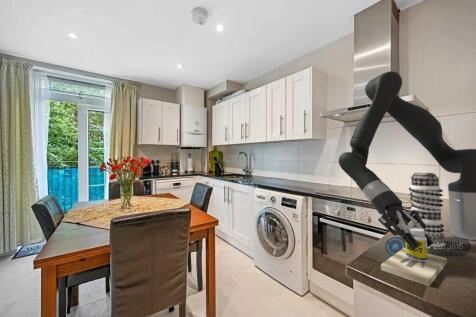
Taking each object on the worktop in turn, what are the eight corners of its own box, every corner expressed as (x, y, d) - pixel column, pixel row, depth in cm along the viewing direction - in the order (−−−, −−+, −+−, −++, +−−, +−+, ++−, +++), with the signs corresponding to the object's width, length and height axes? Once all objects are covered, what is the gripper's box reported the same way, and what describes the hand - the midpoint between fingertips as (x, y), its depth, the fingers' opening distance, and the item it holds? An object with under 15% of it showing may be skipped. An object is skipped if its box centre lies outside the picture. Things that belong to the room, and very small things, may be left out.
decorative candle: (440, 249, 69) (435, 173, 70) (407, 240, 78) (403, 173, 78) (451, 243, 74) (446, 172, 75) (418, 236, 82) (414, 172, 83)
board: (404, 252, 68) (403, 247, 68) (446, 263, 60) (446, 257, 60) (381, 270, 57) (380, 264, 58) (429, 286, 49) (429, 279, 49)
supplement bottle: (403, 258, 61) (402, 228, 61) (408, 253, 63) (407, 225, 64) (425, 263, 57) (423, 232, 57) (429, 258, 60) (428, 228, 60)
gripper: (370, 191, 66) (414, 243, 54) (404, 188, 70) (452, 236, 58) (357, 205, 71) (395, 256, 59) (390, 201, 75) (431, 248, 63)
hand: (423, 246), depth 58 cm, fingers closed on supplement bottle, 4 cm apart
